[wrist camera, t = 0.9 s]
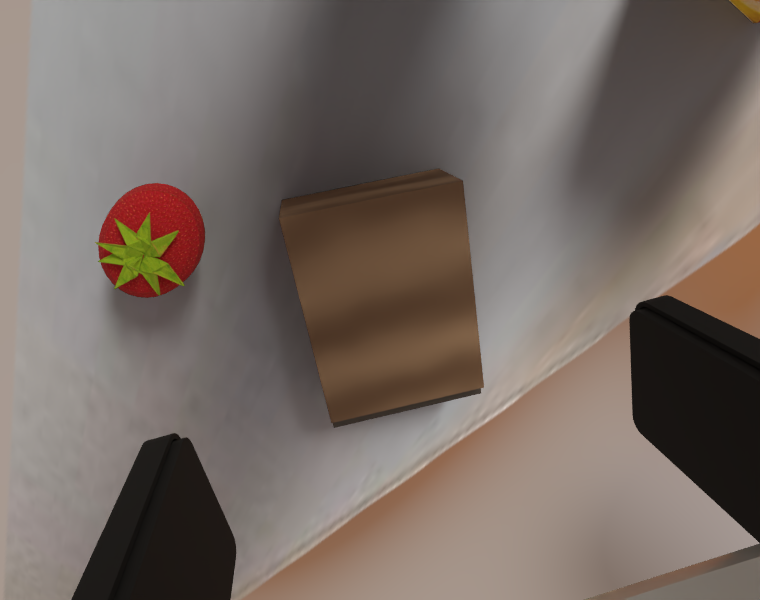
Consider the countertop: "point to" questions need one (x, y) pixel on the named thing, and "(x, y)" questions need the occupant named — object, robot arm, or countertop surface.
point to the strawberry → (151, 240)
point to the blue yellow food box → (749, 9)
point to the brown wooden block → (387, 293)
